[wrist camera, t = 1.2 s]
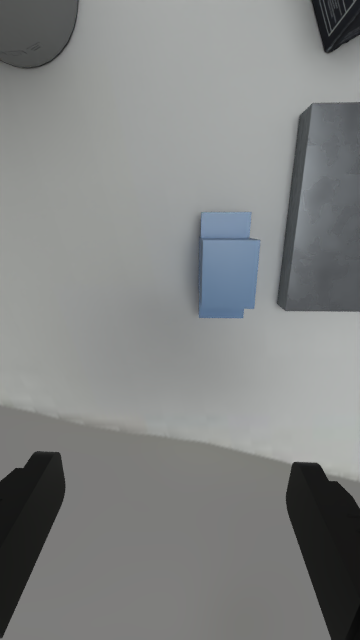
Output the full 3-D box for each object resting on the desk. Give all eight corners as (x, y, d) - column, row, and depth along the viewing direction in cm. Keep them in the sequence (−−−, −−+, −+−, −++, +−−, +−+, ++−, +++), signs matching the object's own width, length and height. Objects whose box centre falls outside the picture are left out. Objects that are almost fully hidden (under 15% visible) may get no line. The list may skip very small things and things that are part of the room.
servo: (200, 213, 25) (203, 209, 19) (243, 213, 25) (263, 209, 19) (198, 307, 28) (200, 332, 22) (237, 307, 28) (251, 333, 21)
